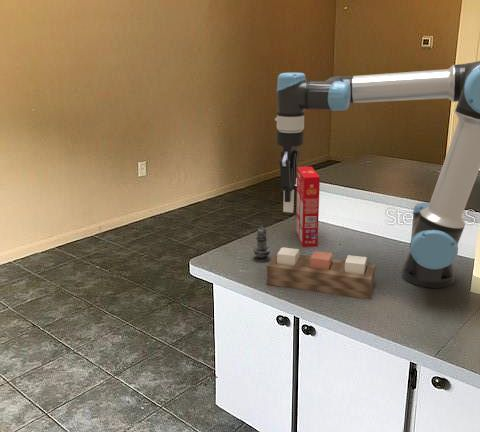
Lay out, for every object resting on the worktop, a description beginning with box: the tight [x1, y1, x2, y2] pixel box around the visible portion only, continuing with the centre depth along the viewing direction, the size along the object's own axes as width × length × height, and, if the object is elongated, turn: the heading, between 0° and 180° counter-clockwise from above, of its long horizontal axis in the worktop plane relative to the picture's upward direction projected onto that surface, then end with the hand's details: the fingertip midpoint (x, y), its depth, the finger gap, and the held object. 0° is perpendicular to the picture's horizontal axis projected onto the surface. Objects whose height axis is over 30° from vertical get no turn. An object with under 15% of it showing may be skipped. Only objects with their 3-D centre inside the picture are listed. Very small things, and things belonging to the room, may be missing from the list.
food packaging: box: [295, 166, 321, 248], centre depth 190 cm, size 15×5×25 cm, turn 3°
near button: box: [345, 254, 368, 275], centre depth 154 cm, size 5×5×4 cm
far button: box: [276, 246, 300, 266], centre depth 161 cm, size 5×5×4 cm
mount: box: [266, 251, 376, 300], centre depth 159 cm, size 30×11×6 cm, turn 71°
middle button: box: [310, 250, 333, 270], centre depth 157 cm, size 5×5×4 cm
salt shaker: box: [252, 224, 271, 263], centre depth 175 cm, size 6×6×12 cm
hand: (288, 211), depth 156 cm, fingers closed
